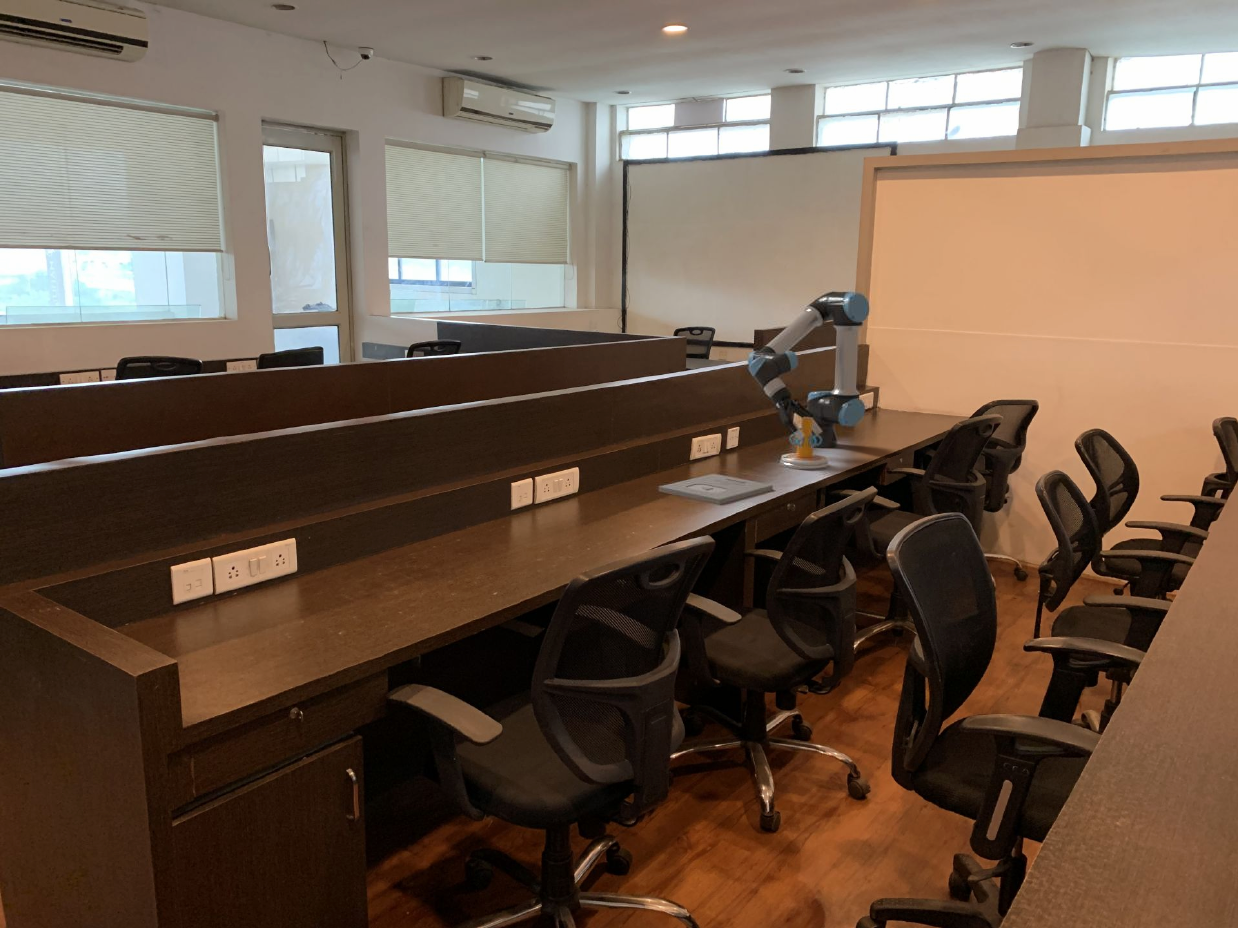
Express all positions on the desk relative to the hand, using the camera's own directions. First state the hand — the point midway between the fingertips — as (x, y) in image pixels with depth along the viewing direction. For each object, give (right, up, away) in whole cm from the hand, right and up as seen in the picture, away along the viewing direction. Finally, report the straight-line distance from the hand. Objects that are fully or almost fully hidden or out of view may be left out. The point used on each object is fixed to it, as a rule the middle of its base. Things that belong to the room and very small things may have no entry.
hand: (811, 435), depth 348 cm
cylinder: (-2, -8, +3) cm, 9 cm away
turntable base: (-2, -11, +4) cm, 12 cm away
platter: (-2, -10, +3) cm, 10 cm away
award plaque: (-40, -20, -41) cm, 60 cm away
